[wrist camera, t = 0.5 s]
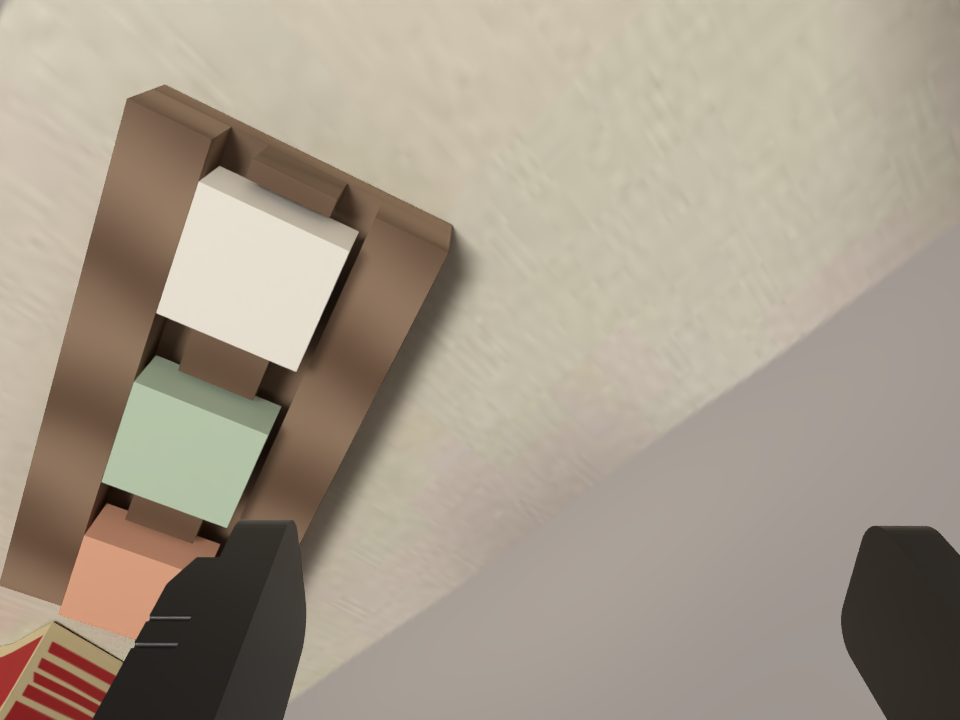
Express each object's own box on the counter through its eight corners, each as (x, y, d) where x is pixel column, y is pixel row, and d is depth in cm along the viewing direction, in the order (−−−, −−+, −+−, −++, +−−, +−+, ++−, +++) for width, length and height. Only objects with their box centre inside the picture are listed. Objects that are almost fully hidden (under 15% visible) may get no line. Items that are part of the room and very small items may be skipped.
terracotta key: (106, 503, 31) (84, 535, 29) (220, 544, 32) (204, 577, 31) (81, 580, 33) (58, 614, 32) (188, 616, 34) (172, 651, 33)
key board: (164, 84, 25) (127, 98, 23) (452, 224, 28) (448, 252, 25) (35, 538, 35) (-1, 585, 32) (255, 614, 37) (237, 663, 35)
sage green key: (156, 355, 28) (133, 381, 26) (281, 406, 29) (268, 435, 27) (124, 451, 30) (101, 482, 28) (241, 496, 31) (226, 528, 29)
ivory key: (219, 165, 24) (198, 181, 23) (359, 231, 25) (349, 251, 24) (178, 289, 27) (156, 313, 25) (308, 345, 28) (296, 371, 26)
